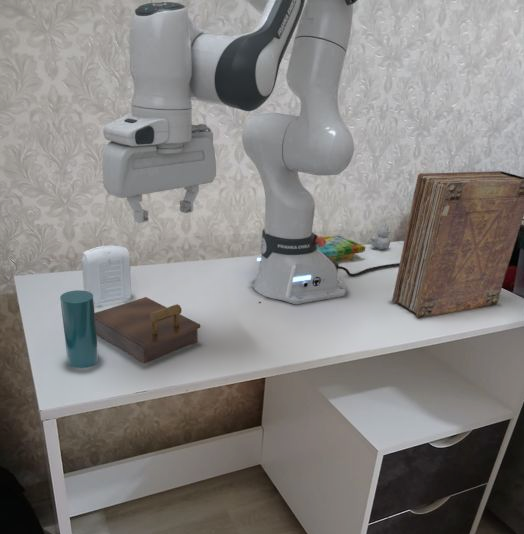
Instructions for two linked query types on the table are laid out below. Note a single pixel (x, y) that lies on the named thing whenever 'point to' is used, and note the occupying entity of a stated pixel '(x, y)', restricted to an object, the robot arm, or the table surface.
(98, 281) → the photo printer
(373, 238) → the grey figurine
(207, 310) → the table surface
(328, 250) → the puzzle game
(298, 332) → the table surface
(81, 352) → the canister
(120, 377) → the table surface
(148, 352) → the chest
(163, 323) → the lid
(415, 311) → the book
